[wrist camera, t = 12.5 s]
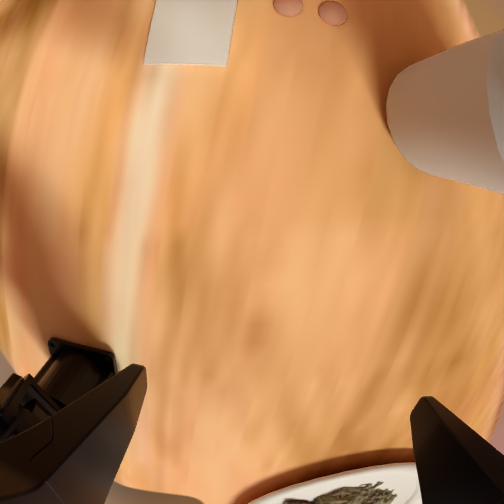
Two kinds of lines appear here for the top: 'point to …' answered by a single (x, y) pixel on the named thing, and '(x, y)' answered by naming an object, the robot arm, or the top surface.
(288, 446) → the top surface
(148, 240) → the top surface
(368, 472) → the plated food
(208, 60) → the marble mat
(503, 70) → the can
